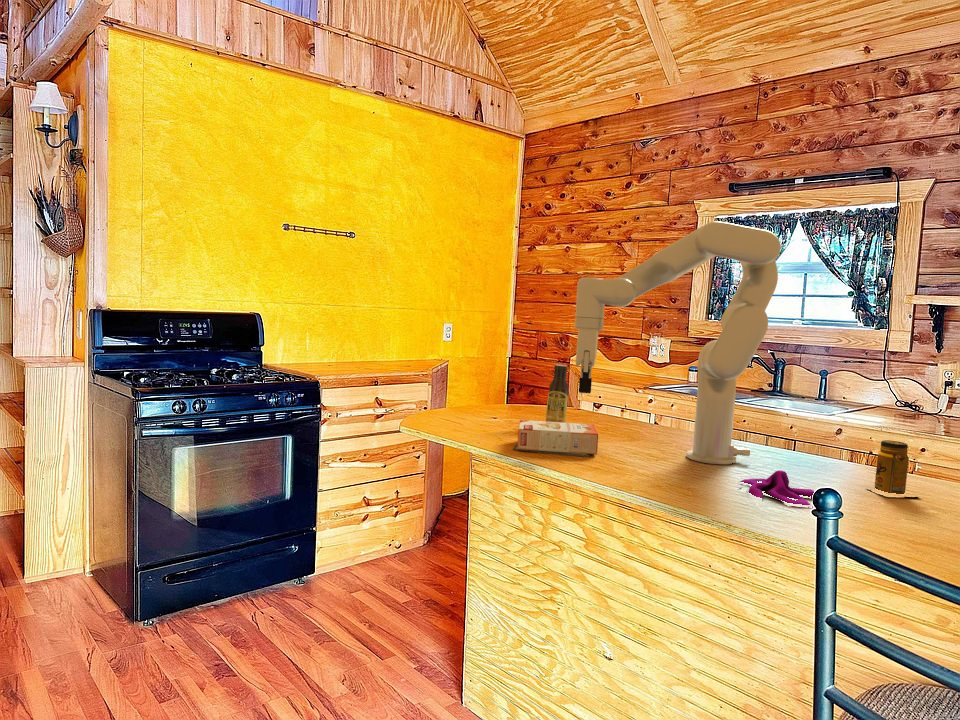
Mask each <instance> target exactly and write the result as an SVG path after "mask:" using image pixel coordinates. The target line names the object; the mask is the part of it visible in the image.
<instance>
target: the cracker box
mask: <svg viewBox="0 0 960 720" xmlns="http://www.w3.org/2000/svg"><path fill="white" fill-rule="evenodd" d="M517 442H518V449H523V450H538V451H553V452H568V453H583V454H590V455H598V446H599V433H598V431H597V429H596V426H595V425H594V424H592V423H591V424H588V423H586V424H585V423H575V422H573V423H572V422H566V423H560V422H546V421H544V420H543V421H540V420H529V419H527V420H525V419H520V420H519V423H518V431H517Z"/></svg>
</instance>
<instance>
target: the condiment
mask: <svg viewBox="0 0 960 720" xmlns="http://www.w3.org/2000/svg"><path fill="white" fill-rule="evenodd" d="M908 448H909V446H908V443H906V442H902V441H897V440H890V439H888V440H886V439H885V440H881V443H880V447H879V452H878V453H877V459H876V470H875V480H874V487H875V488H876V489H878V490H881V491H884V492H888V493H896V494H904V493H905V492H906V489H907V487H906V486H907V477H908V469H909V468H908V467H909V460H910V459H909V455H908ZM875 488H874V489H875Z"/></svg>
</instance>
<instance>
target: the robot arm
mask: <svg viewBox="0 0 960 720" xmlns="http://www.w3.org/2000/svg"><path fill="white" fill-rule="evenodd" d="M780 241H781V240H780V239H779V237H778V236H777V235H776V234H775V233H773V232H772V231H770V230H767V229H762V228H756V227H752V226H745V225H741V224H735V223H730V222H724V221H717V220H716V221H715V220H714V221H710V222H708V223H705V224H704V225H702V226H700V227H698V228H697V229H695V230H693V231H692V232H690V233H688V234H686V235H685V236H683V237H681V238H680V239H678V240H676V241H674V242H673V243H671V244H669V245H667V246H665V247H664V248H662V249H660V250H659V251H658V252H656V253H654V254H653V255H652V256H650V257H649V258H647V259H646V260H645V261H644V262H642V263H640V264H639V265H637V266H635V267H634V268H631V269H630V270H628V271H626V272H625V273H624V274H622V275H620V276H618V277H615V278H605V279H604V278H600V277H581V278H579V279H578V281H577V283H576V284H577V285H576V302H575V317H574V319H575V320H574V330H578V331H577V338H576V339H577V340H576V341H577V342H576V354H575V355H576V356H575V357H576V358H575V367H577V368H579V366H580V377H579V383H578V393H579V394H591V393H592V384H593V383H592V382H593V378H592V371H593V370H592V369H593V368H594V367H595V363H596V358H597V355H598V354H597V352H598V343H599V342H598V341H599V332H601V331H602V332H603V331H604V322H605V306H606V305H607V306H612V307H617V308H625V307H627V306H629V305H631V304H632V303H633V302H634V301H635V300H636V299H637V298H639V297H641V296H642V295H644V294H645V293H648V292H650V291H651V290H653V289H655V288H657V287H660V286H662V285H664V284H666V285H667V284H668V283H671V282H673V281H675V280H677V279H679V278H681V277H682V276H685V275H686V274H687V273H689V272H690V271H692V270H694V269H696V268H698V267H700V266H701V265H703V264H705V263H707V262H708V261H710V260H711V259H714V258H715V257H721V258H726V259H729V260H734V261H739V263H740V264H741V267H742V277H741V280H740V283H739V285H738V287H737V289H736V291H735V293H734V295H733V297H732V298H731V300H730V302H729V304H728V305H727V307H726V308H725V310H724V312H723V314H722V315H721V320H720V326H721V329H722V330H721V333H720V334H719V336H718V338H717V339H713V340H711V341H709V342H707V343H706V344H705V345H704V346H702V348H701V349H700V352H699V355H698V358H697V359H698V360H697V393H696V395H697V396H696V404H695V405H696V406H695V416H694V419H695V420H694V431H693V443H692V449H689V450H687V451H686V452H685V454H686V455H685V456H686V458H688V459H690V460H692V461H694V462H698V463H699V462H700V463H704V464H709V465H710V464H712V465H732V463H733V464H735V463H736V462H737V456H743V457H750V455H751V449H750V448H744V447H740V446H739V447H738V446H735V445H734V444H733V443H732V440H733V429H734V416H735V405H736V404H735V403H736V395H737V393H736V392H737V378H739V377H740V376H741V375H742V374H743V373H744V372H745V371H746V370H747V368H748V366H749V364H750V363H751V361H752V359H753V358H754V356H755V353H756V352H757V350H758V348H759V347H760V345H761V343H762V341H763V339H764V338H765V336H766V333H767V330H768V327H769V318H768V314H767V312H766V309H767V308H768V306H769V304H770V302H771V300H772V297H773V296H774V293H775V290H776V289H777V285H778V281H779V280H778V279H779V274H778V273H779V271H778V266H777V262H776V260H777V258H778V257H779V255H780V253H781V250H782V247H781V246H782V244H781V242H780Z"/></svg>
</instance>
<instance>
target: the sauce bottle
mask: <svg viewBox="0 0 960 720" xmlns="http://www.w3.org/2000/svg"><path fill="white" fill-rule="evenodd" d="M553 369H554V374H553V379H552V380H551V382H550V384H549V387H548V388H549V389H548V393H547V402H546V403H547V404H546V413H545V422H560V423H567V422H566V421H567V411H568V401H569V385H568V383H567V371H568V365H566V364H554V367H553Z"/></svg>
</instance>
